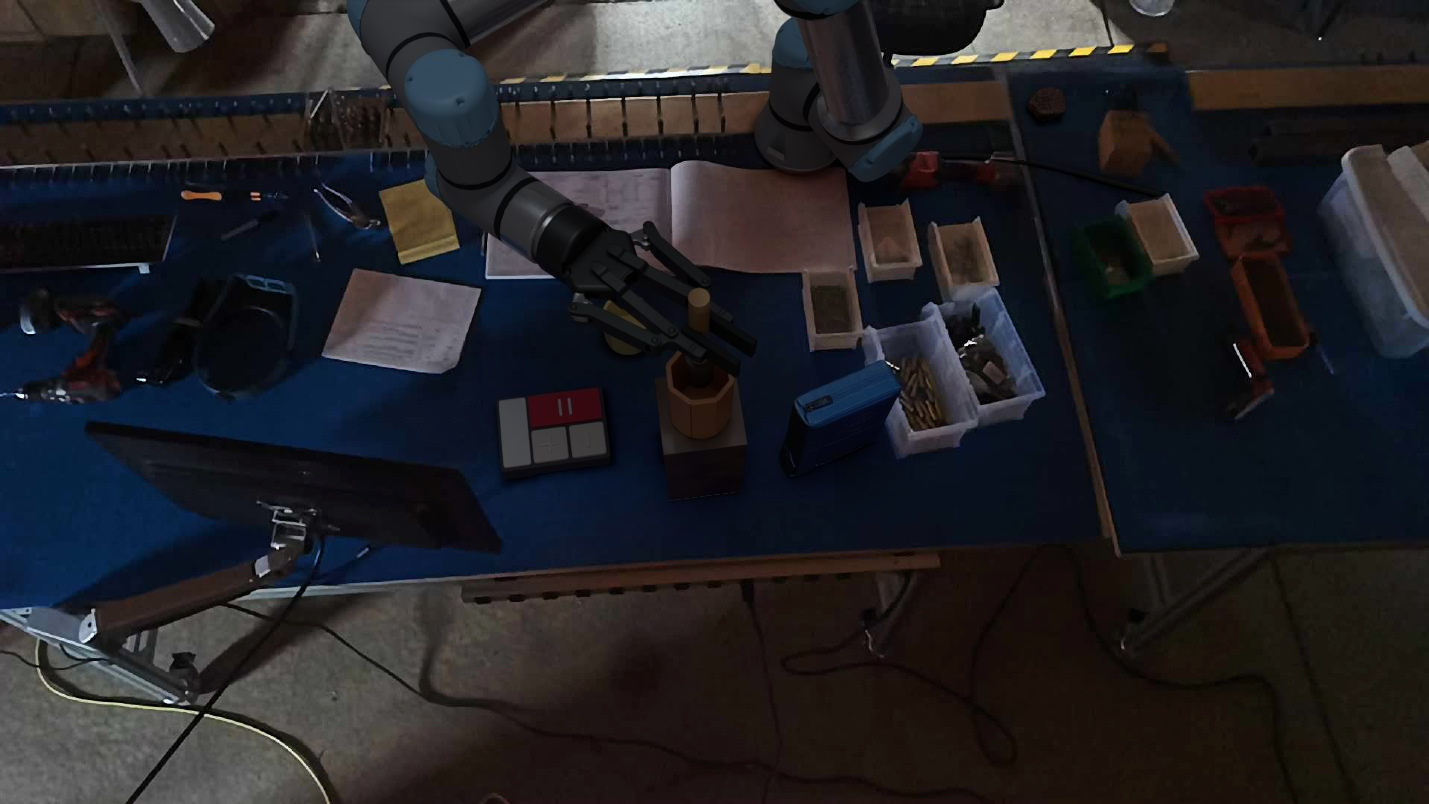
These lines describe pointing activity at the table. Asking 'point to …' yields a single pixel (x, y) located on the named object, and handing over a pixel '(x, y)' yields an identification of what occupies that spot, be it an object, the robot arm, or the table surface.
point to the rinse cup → (615, 343)
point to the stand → (702, 453)
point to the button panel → (552, 432)
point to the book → (838, 418)
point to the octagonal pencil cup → (698, 400)
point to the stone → (1047, 104)
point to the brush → (700, 321)
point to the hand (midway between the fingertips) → (745, 358)
